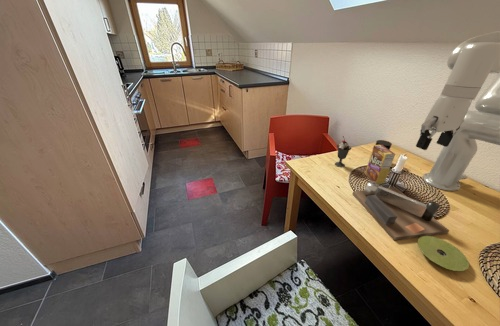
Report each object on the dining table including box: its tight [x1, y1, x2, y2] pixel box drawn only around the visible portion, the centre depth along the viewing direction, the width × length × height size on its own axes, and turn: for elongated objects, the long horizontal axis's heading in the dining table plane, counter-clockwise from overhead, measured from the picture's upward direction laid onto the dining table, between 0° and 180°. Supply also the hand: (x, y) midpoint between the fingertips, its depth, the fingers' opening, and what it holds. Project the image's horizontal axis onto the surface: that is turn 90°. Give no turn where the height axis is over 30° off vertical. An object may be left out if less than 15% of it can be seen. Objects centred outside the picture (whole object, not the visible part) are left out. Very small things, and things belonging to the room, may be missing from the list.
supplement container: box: [374, 139, 392, 151], centre depth 104 cm, size 7×7×10 cm
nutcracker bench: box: [352, 186, 450, 241], centre depth 73 cm, size 19×23×5 cm
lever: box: [364, 180, 441, 221], centre depth 73 cm, size 21×4×6 cm, turn 43°
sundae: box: [334, 136, 352, 168], centre depth 99 cm, size 7×7×15 cm
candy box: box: [364, 144, 396, 185], centre depth 88 cm, size 9×4×15 cm, turn 2°
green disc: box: [417, 236, 470, 272], centre depth 58 cm, size 11×11×2 cm
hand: (431, 146), depth 66 cm, fingers open, 9 cm apart
